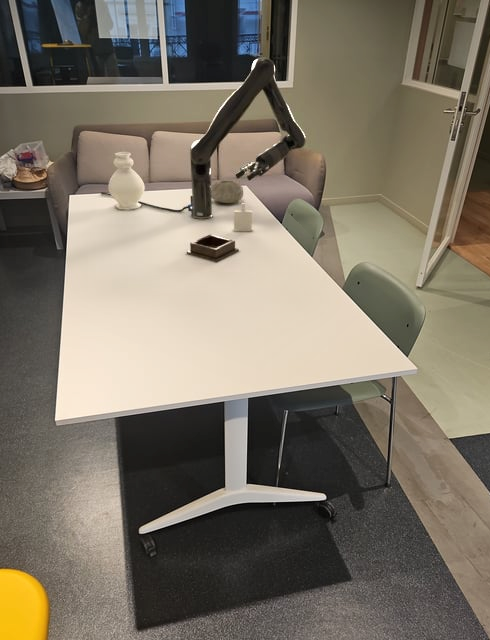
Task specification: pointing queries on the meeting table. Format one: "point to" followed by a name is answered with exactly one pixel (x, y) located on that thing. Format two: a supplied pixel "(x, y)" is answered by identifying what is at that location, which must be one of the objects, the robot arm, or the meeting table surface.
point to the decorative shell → (227, 191)
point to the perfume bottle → (242, 219)
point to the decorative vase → (126, 183)
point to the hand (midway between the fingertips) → (242, 177)
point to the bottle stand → (212, 248)
